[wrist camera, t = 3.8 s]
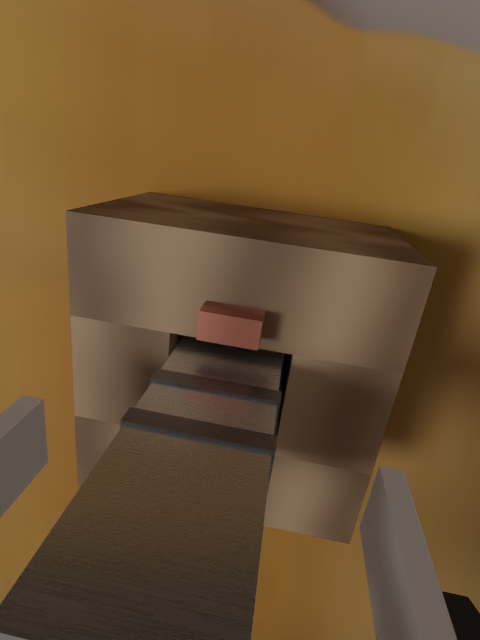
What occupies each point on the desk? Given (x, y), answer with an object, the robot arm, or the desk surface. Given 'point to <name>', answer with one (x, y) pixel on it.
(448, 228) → the desk surface
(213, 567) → the column
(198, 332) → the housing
